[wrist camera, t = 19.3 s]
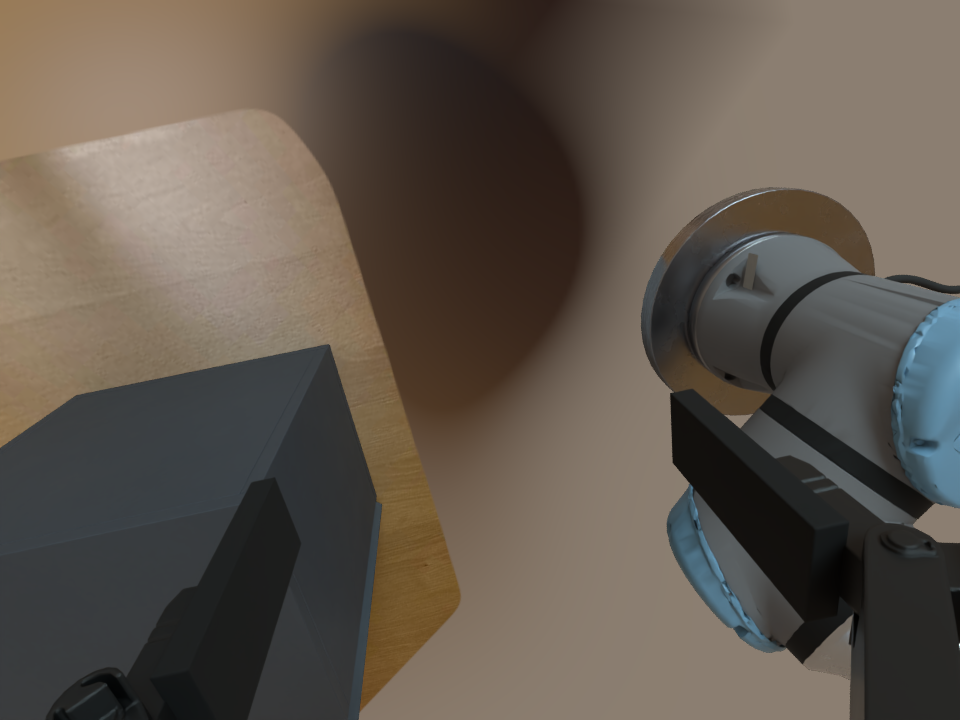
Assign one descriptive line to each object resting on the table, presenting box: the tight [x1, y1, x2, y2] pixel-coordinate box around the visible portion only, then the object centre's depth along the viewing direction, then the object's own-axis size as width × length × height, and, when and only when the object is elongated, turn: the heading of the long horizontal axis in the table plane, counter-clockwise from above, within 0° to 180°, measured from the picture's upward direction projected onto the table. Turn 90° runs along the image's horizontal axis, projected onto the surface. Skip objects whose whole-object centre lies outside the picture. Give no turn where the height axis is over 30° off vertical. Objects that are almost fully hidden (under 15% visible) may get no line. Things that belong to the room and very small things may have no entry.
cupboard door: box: [348, 502, 382, 720], centre depth 48 cm, size 7×24×24 cm, turn 143°
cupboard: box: [0, 344, 376, 720], centre depth 40 cm, size 18×24×24 cm
